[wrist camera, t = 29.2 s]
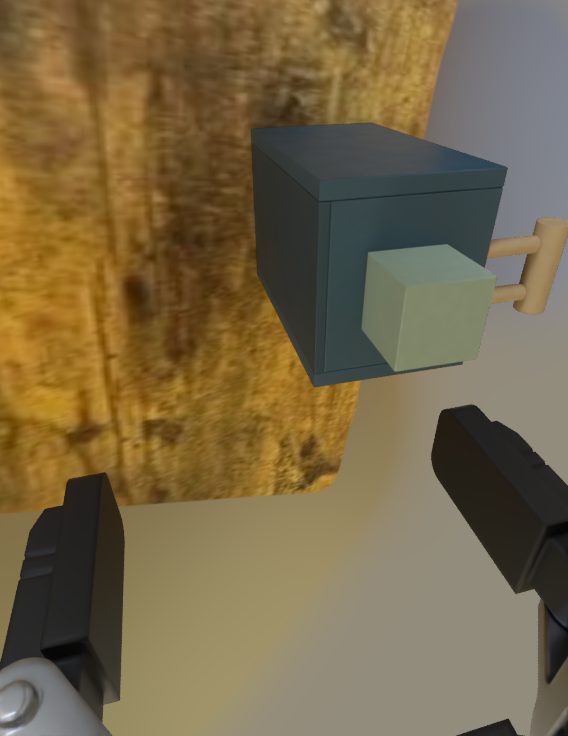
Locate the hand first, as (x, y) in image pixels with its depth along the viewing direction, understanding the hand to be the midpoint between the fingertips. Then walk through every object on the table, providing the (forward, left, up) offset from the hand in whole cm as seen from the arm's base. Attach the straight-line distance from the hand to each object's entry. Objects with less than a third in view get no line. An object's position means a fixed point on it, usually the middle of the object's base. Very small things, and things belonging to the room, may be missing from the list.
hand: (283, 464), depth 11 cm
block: (+3, +10, -15) cm, 18 cm away
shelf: (+3, +5, -23) cm, 24 cm away
